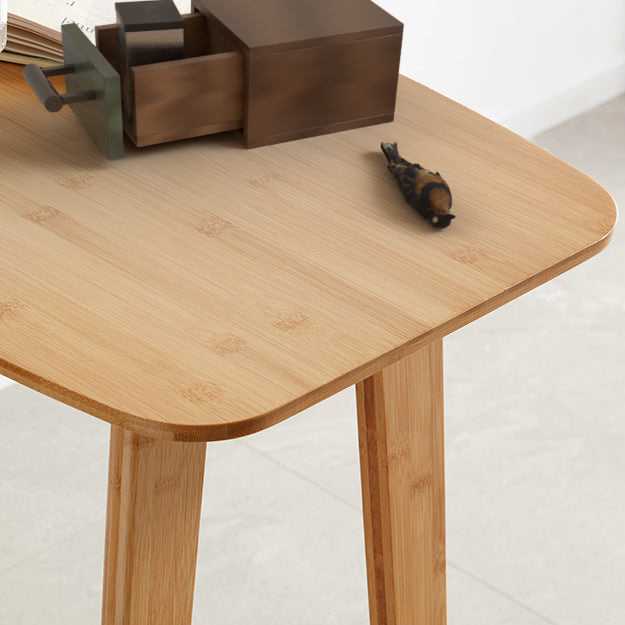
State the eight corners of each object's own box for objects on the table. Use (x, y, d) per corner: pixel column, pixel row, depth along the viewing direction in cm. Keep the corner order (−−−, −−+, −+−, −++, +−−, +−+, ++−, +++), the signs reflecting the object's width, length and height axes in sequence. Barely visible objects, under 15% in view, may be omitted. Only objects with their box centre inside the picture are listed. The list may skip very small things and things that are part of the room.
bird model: (423, 243, 80) (428, 211, 79) (371, 153, 91) (374, 123, 89) (466, 239, 81) (470, 207, 80) (409, 150, 92) (412, 120, 90)
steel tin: (185, 117, 90) (184, 21, 85) (128, 122, 88) (124, 24, 84) (174, 93, 93) (172, -2, 88) (119, 97, 92) (114, 2, 87)
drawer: (58, 170, 84) (51, 85, 80) (19, 111, 91) (11, 30, 87) (258, 133, 91) (261, 53, 87) (207, 80, 98) (207, 4, 94)
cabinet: (247, 149, 90) (249, 47, 85) (191, 89, 98) (190, -7, 93) (393, 121, 96) (404, 23, 90) (329, 66, 104) (335, -26, 99)
